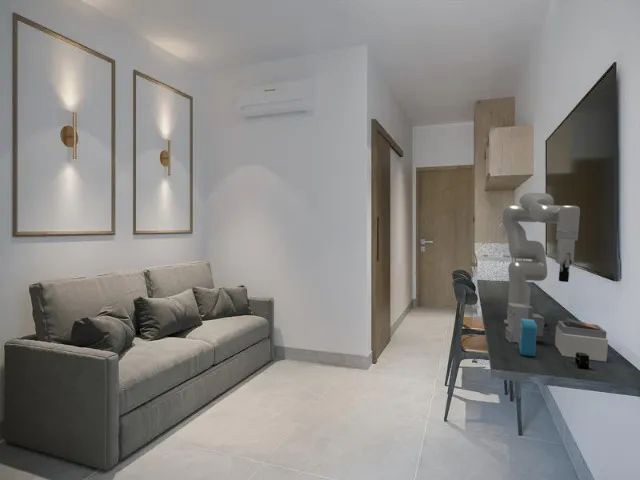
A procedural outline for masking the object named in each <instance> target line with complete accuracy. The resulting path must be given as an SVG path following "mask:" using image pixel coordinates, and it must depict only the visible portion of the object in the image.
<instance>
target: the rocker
mask: <svg viewBox="0 0 640 480" xmlns="http://www.w3.org/2000/svg"><path fill="white" fill-rule="evenodd" d="M564 321H565V322H566V323H567V324H568V325H570V326H574V327H577V328H582V329H591V330H599V329H598V328H597V327H595V326H594V325H595V324H594V325H591V324H592V323H587V322H583V321H578V320H575V319H572V318H568V317H565V319H564Z"/></svg>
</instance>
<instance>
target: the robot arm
mask: <svg viewBox="0 0 640 480" xmlns="http://www.w3.org/2000/svg"><path fill="white" fill-rule="evenodd" d="M580 213H581V209H580V207H579V206H577V205H556V204H555V205H554V197H553V195H551V194H549V193H542V192H541V193H540V192H527V193H524V194H522V195H521V196H520V198H519V204H510V205H507V206H505V208H504V209H503V211H502V222H503V223H502V224H503V226H504V229H505V231H506V236H507V243H508V250H509V251H508V253H509V255H510V257H511V258H513V259H517V260H514V261H511V262H510V263H509V265H508V268H507V270H508V278H509V279H508V281H509V284H508V285H509V286H508V301H507V302H508V303H514V304H527V305H529V306H531V305H530V303H531V302H530V301H531V288H530V286H529V284H528V282H527V281H535V282H536V281H537V282H538V281H539V282H543V281H544V280H545V279H547V277H548V264H547V258H546V251H545V248H544V245H543V243H541V242H540V241H537V240H529V239H527V233H526V230H525V228H524V227H523V226H522V225H521V224H520V222H521V223H537V222H538V223H543V224H556V236H555V237H556V238H555V240H557V243H556V250H555V251H556V253H555V259H554V261H555V263H556V264H559V271H558V281H559V282H561V283H562V282H564V283H568V282H569V279H570V266H571V265H573V264H574V262H575V261H574V259H575V246H576V245H575V242H576V241H578V239H579V229H580V228H579V227H580V215H581V214H580ZM508 303H507V304H508ZM508 322H509V316H508V315H507V317H506V318H505V319H503V323H504V324H505V325H508Z"/></svg>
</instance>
